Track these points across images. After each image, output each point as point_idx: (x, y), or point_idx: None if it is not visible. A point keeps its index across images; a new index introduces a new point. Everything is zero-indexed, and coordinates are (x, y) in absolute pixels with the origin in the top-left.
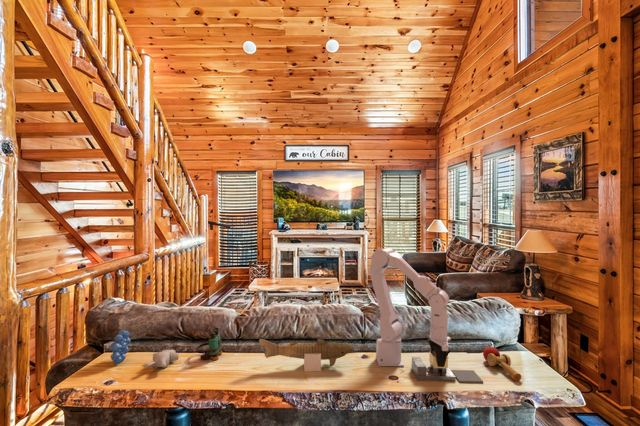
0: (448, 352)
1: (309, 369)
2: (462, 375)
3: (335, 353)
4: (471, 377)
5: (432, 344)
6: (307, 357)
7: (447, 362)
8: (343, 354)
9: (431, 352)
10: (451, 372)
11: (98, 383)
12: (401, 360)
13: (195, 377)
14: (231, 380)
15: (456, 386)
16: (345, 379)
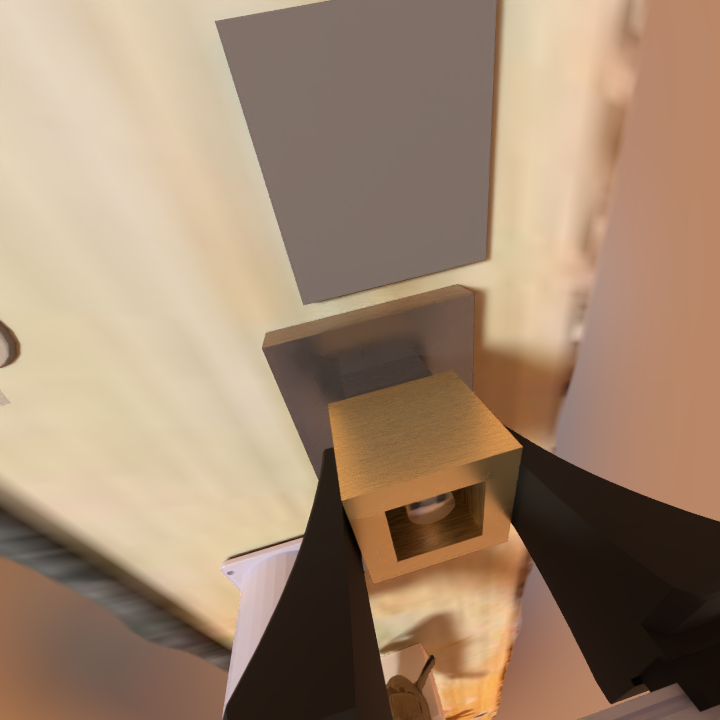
0: (697, 525)
1: (427, 658)
2: (392, 216)
3: (423, 708)
4: (421, 120)
5: (381, 670)
6: (442, 709)
7: (482, 404)
8: (413, 695)
9: (414, 567)
10: (405, 318)
11: (483, 716)
12: (272, 552)
13: (465, 698)
14: (473, 680)
15: (526, 286)
16: (462, 602)
